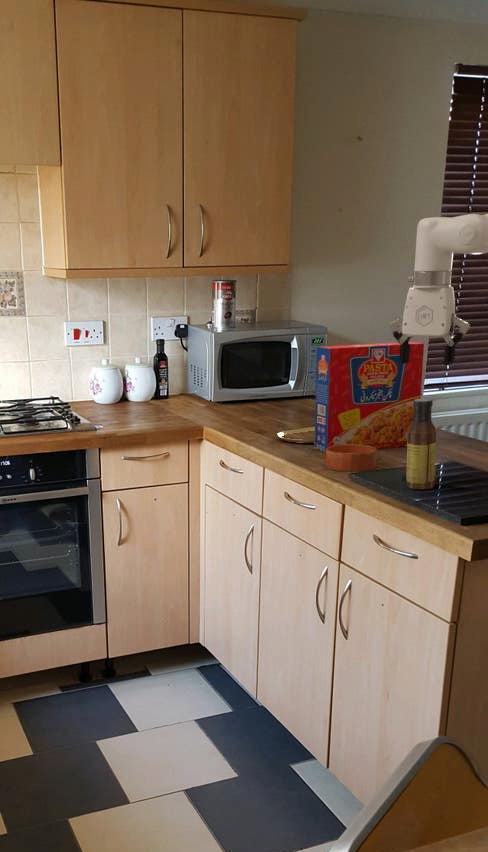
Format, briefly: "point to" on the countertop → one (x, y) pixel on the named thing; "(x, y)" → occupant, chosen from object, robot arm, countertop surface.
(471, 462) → the countertop surface
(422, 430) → the sauce bottle
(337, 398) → the pasta box
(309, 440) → the serving platter
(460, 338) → the robot arm
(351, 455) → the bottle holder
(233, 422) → the countertop surface
